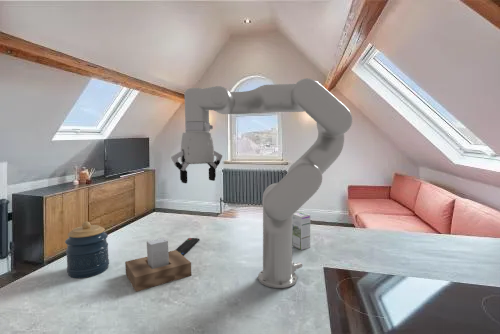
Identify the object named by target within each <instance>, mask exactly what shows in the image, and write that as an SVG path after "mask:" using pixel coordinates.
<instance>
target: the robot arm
mask: <svg viewBox="0 0 500 334" xmlns="http://www.w3.org/2000/svg"><path fill="white" fill-rule="evenodd" d="M210 111H213V112H216V113H218V114H220V115H245V114H247V115H248V114H266V113H267V114H269V113H302V112H305V113H306V114H307V115H308V116H309V117H310V118H311V119H313V120H314V121H315V122H316V128H317V134H318V135H317V138H316V140H315V141H314V143H313V144H312V145H311V146H310V147H309V148H308V149H307V150H306V151H305V152H304V153H303V154H302V155H301V156H300V157H299V158H298V159H297V160H296V161H295V162H292V164H291V165H290V166H289V168H288V170H287V173H286V174H285V175H284V176H283V178H281V179H280V180H279V181H278V182H274V183H272V184H270V185H268V186H267V187H266V188H265V189H264V191H263V194H262V200H261V201H262V270H261V271H259V273H258V274H257V275H258V276H257V277H258V281H259V283H260V284H262V285H263V286H265V287H269V288H271V289H272V288H274V289H286V288H290V287H292V286H294V285H295V284H296V283H297V280H298V277H297V274H296V271H297V270H299V269H301V268H302V267H303V263H302V262H301V261H299V262H296V263H295V261H293V246H292V233H293V221H292V215H293V214H294V213H297V211H299V210H300V209H301V207H303V205H305V204H306V203H307V202H308V201H309V199H311V198H312V197H313V196H314V195H315V194H316V193H317V192H318V190H320V188H321V185H322V183H323V174H324V173H325V172H326V171H328V169H329V168H330V167H331V166H332V165H333V164H334V163H335V161H336V160H337V159H338V158H339V157H340V156H341V153H342V151H343V148H344V144H345V134H346V133H347V132H349V130H350V129H351V127H352V124H353V116H352V113H351V111H350V110H349V108H348V107H347V106H346V105H345V104H344V103H342V101H340V100H339V99H338V98H337V97H336V96H334V95H333V94H332V93H331V92H330V91H329V90H328V89H326V88H325V86H323V85H322V84H321V83H319V81H317V80H315V79H313V78H303V79H300V80H298V81H297V82H296V83H283V84H282V83H281V84H280V83H279V84H263V85H259V86H258V87H256V88H254V89H252V90H245V91H229V89H227V88H226V87H224V86H221V85H220V86H219V85H217V86H210V87H204V88H202V87H201V88H200V87H191V88H186V90H184V119H185V120H184V124H185V125H184V126H185V129H184V130H185V131H184V132H182V135H181V143H180V151H179V152H177V153H175V154H173V155H172V156H171V160H172V162H173V164H174V166H175V167H176V168H177V169H178V170H179V178H180V179H179V180H180V181H181V183H182V184H188V170H187V168H188V167H189V165H202V164H207V165H208V166H209V168H208V180H209V181H216V174H217V173H216V170H217V169H218V166H219V165H220V164H221V161H222V158H223V155H222V154H221V153H220V152H217V151H216V150H215V147H214V140H213V135H212V132H210V131H211V130H213V125H211V124H210ZM215 157H216V158H215ZM179 158H180V162H179Z"/></svg>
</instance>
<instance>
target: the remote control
mask: <svg viewBox="0 0 500 334" xmlns="http://www.w3.org/2000/svg"><path fill="white" fill-rule="evenodd" d="M199 241H200V238H197V237H188V238H187V239H186V240H185V241H184V242H182V244H180V245H179V246H178V247H177V248H176V249H175V250H177V251H178V252H179V253H180V254H182V255H183V256H184V257H185V256H186V254H188V253H189V252H190V251H191V250H192V249H193V247H195V245H196V244H198V243H199Z"/></svg>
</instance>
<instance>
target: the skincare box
mask: <svg viewBox="0 0 500 334" xmlns="http://www.w3.org/2000/svg"><path fill="white" fill-rule="evenodd" d="M169 252H170V251H169V240H167V239H166V238H164V237H161V238H157V239H152V240H148V241H146V254H147V256H146V257H147V258H148V265H149V266H150V267H151V269H155V268H158V267H162V266H166V265H169Z"/></svg>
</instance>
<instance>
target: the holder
mask: <svg viewBox="0 0 500 334" xmlns="http://www.w3.org/2000/svg"><path fill="white" fill-rule="evenodd" d="M168 252H169V265H166V266H162V267H158V268H155V269H151V267H150V266H149V265H148V258H147V256H145V257H139V258H135V259H132V260H131V259H130V260H126V261H124V264H125V265H124V266H125V275H126V277H127V279H128V280H129V282H130V285H131V286H132V288H133V289H134V292H140V291H143V290H147V289H150V288H153V287H157V286H160V285H164V284H166V283H172V282H174V281H177V280H181V279H185V278H187V277H191V276H192V262H191V261H190V260H189V259H188V258H187V257H185V255H184V256H183V255H182V254H180V253H179V252H178V251H177V250H176V249H175V250H169V251H168Z"/></svg>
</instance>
